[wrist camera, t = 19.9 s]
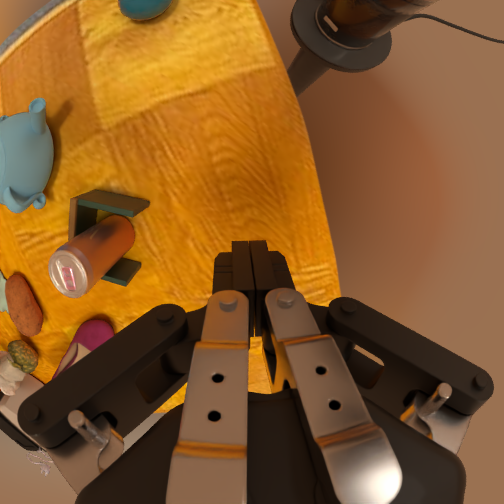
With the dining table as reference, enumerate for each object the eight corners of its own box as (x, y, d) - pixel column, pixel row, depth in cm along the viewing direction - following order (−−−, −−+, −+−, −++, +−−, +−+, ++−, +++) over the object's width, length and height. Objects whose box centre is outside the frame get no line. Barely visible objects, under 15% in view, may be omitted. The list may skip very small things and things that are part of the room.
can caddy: (150, 201, 37) (131, 212, 30) (141, 267, 40) (124, 289, 34) (95, 189, 35) (70, 198, 29) (90, 252, 39) (68, 271, 32)
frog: (-3, 343, 46) (17, 315, 45) (28, 373, 52) (53, 352, 50) (-20, 370, 36) (-5, 345, 34) (14, 402, 41) (36, 386, 39)
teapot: (-5, 146, 30) (-51, 154, 19) (56, 67, 27) (8, 54, 15) (34, 227, 37) (-12, 252, 25) (103, 154, 34) (52, 160, 22)
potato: (34, 330, 43) (17, 344, 36) (11, 276, 41) (-9, 285, 34) (53, 324, 44) (35, 339, 37) (29, 267, 41) (8, 276, 34)
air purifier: (0, 389, 56) (37, 423, 63) (-15, 415, 42) (26, 450, 50) (12, 381, 53) (56, 420, 60) (-6, 411, 39) (43, 451, 46)
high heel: (128, 328, 44) (105, 376, 33) (90, 386, 51) (73, 424, 40) (90, 300, 42) (58, 343, 31) (61, 366, 49) (40, 401, 37)
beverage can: (105, 251, 39) (54, 297, 25) (100, 214, 37) (42, 249, 23) (138, 251, 39) (94, 301, 25) (134, 213, 37) (82, 249, 23)
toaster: (62, 422, 60) (87, 420, 57) (39, 477, 37) (62, 485, 34) (13, 375, 52) (30, 366, 50) (-21, 428, 29) (-10, 430, 26)
